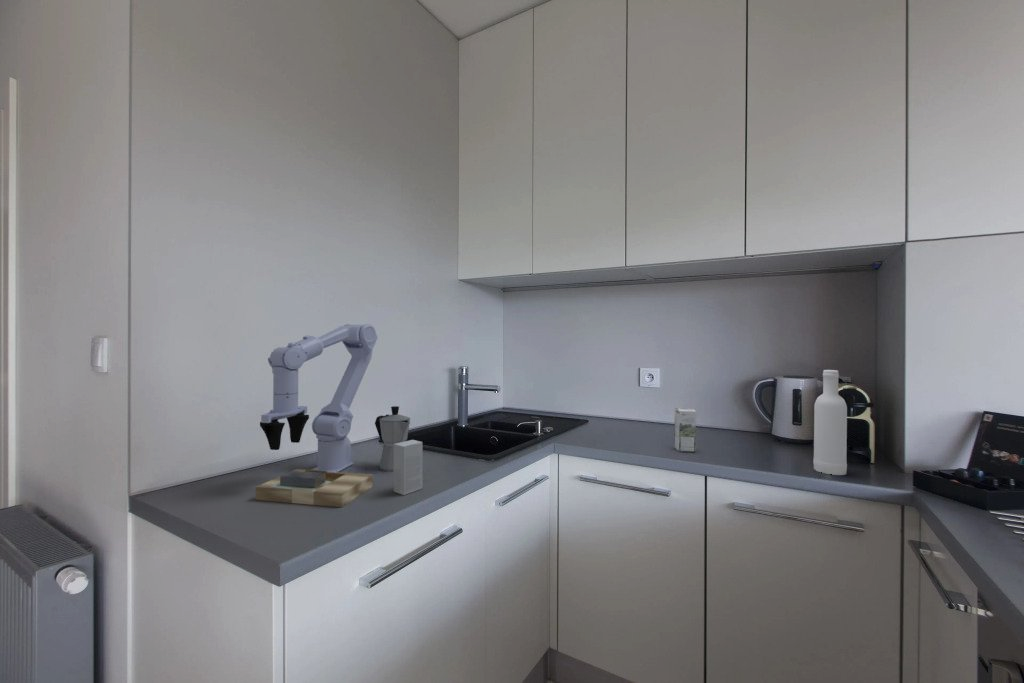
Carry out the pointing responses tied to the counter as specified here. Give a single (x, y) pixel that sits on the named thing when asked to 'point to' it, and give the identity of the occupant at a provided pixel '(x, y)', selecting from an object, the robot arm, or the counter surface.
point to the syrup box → (685, 430)
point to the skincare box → (408, 466)
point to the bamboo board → (318, 489)
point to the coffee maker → (391, 435)
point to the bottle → (830, 428)
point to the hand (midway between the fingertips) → (285, 445)
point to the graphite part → (302, 479)
